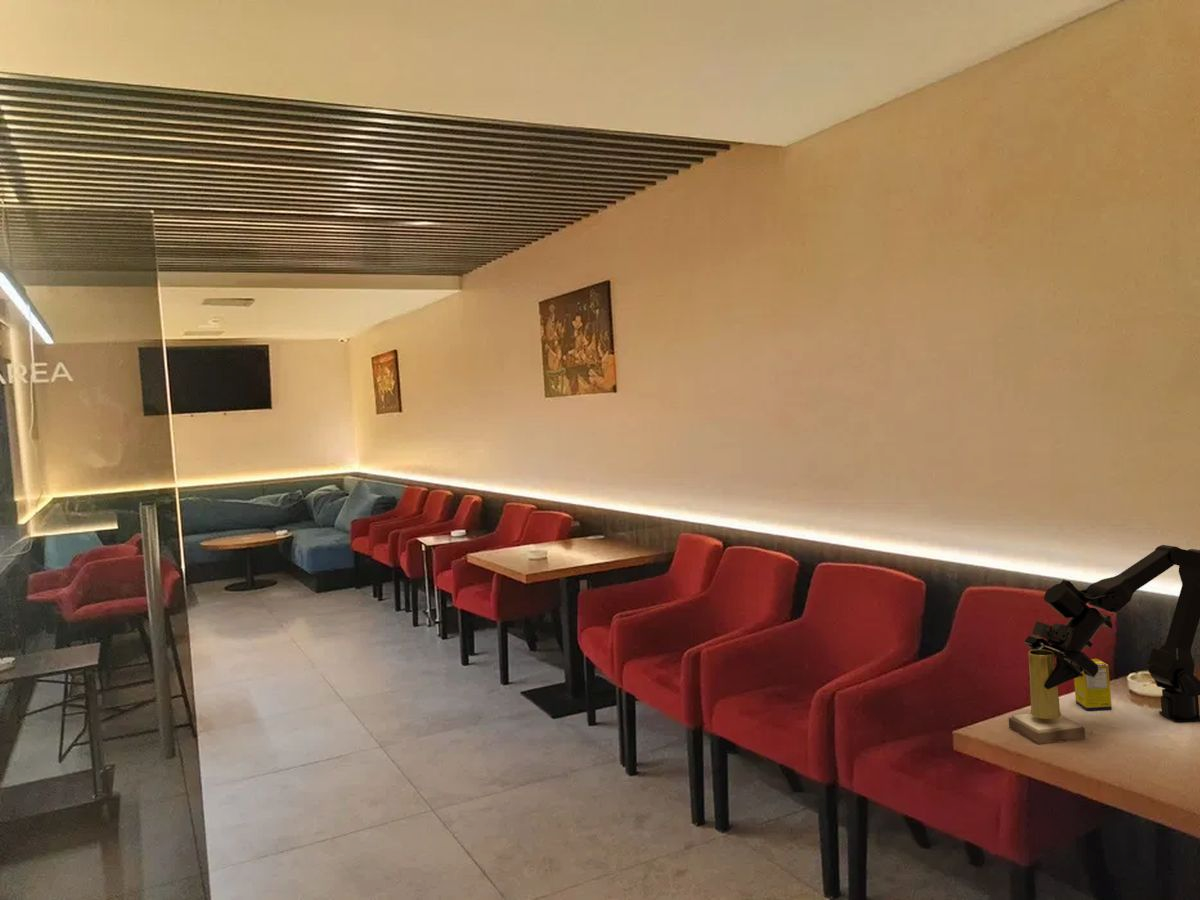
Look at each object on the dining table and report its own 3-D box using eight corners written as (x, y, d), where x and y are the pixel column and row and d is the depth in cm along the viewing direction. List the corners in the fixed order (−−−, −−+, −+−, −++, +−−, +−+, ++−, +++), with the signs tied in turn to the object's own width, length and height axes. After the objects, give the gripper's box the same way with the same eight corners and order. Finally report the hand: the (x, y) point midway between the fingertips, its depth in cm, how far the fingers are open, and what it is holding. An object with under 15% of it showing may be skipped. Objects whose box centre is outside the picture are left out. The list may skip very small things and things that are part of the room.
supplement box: (1100, 702, 209) (1097, 658, 209) (1112, 710, 203) (1109, 664, 203) (1074, 703, 210) (1071, 659, 209) (1086, 711, 204) (1083, 665, 203)
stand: (1053, 722, 198) (1052, 710, 198) (1085, 738, 187) (1084, 725, 187) (1009, 727, 197) (1008, 715, 196) (1038, 744, 186) (1037, 730, 186)
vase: (1041, 720, 188) (1036, 657, 188) (1025, 712, 194) (1020, 650, 194) (1067, 717, 189) (1062, 654, 189) (1049, 709, 195) (1044, 647, 195)
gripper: (1028, 600, 201) (988, 652, 200) (1081, 616, 182) (1037, 673, 181) (1062, 630, 202) (1022, 681, 201) (1118, 648, 183) (1074, 705, 182)
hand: (1037, 684), depth 191 cm, fingers closed on vase, 5 cm apart
